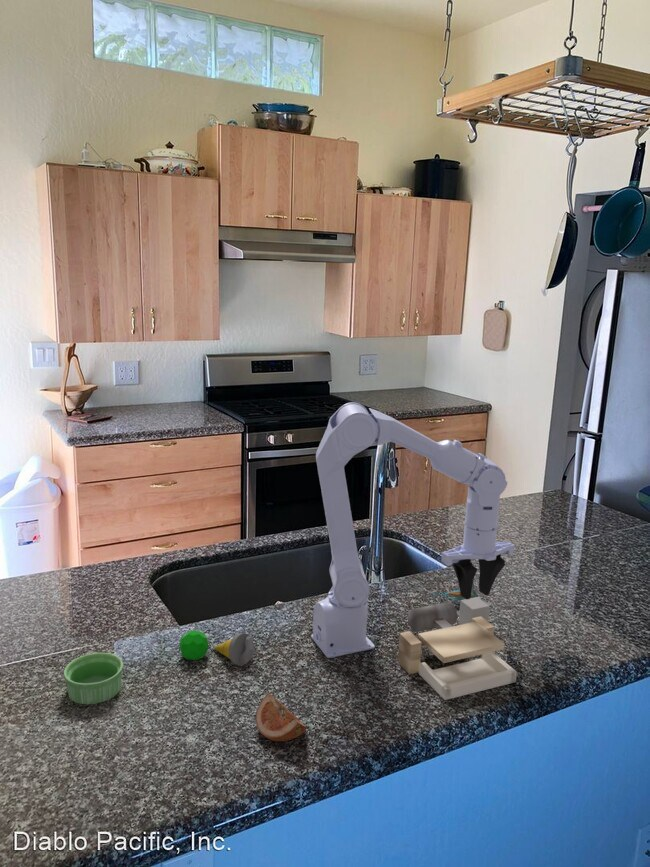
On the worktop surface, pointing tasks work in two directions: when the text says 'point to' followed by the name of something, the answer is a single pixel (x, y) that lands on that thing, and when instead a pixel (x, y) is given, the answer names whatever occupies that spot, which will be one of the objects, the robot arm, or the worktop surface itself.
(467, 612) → the grey rectangular block
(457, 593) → the dragon figurine
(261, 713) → the fruit slice
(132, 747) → the worktop surface
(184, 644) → the polyhedron
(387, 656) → the worktop surface
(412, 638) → the trapdoor posts
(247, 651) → the ice cream cone
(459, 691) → the tray
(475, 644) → the trapdoor
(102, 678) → the ramekin
